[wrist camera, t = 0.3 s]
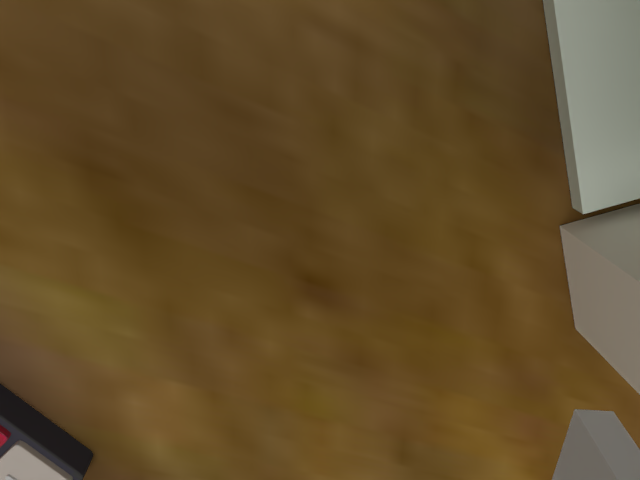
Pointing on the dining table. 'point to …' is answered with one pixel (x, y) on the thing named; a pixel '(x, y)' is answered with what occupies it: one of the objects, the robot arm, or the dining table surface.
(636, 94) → the stand
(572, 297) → the post
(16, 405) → the red and black box
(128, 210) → the dining table surface
